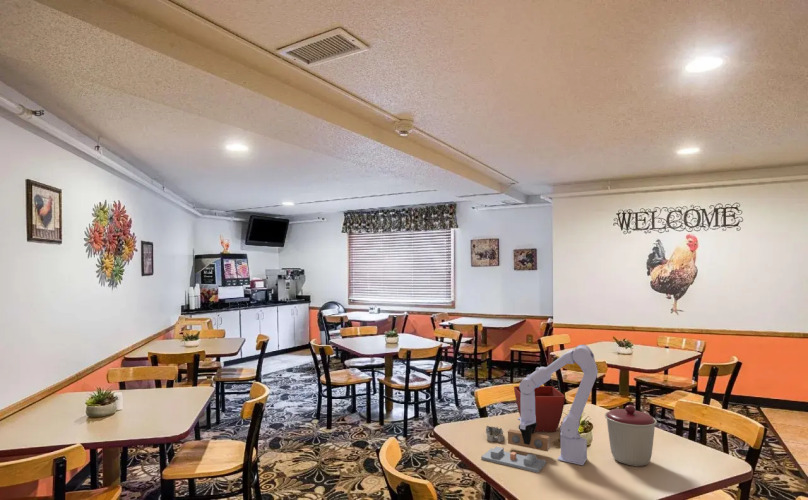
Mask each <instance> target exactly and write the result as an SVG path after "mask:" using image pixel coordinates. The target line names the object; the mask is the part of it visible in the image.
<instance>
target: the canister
mask: <svg viewBox="0 0 808 500" xmlns="http://www.w3.org/2000/svg"><path fill="white" fill-rule="evenodd" d="M604 417H605V419H606V424H607V431H608V439H609V446H610V453H611V454H612V457H613V459H615V460H616V461H617V462H618V463H621V464H624V465H628V466H632V467H643V466H644V467H645V466H646V465H648V464H649V463H650V462H651V459H652V454H653V447H654V446H653V445H654V437H655V428H656V427H655V426H656V425H657V424H658V421H657V419H656V418H655V417H653V416H652V415H650V414H648V413H646V412H645V411H640V410H636V408H635V406H634V405H631V404H628V405H626V406H625V408H617V409H612V410H609V411H608V412H606V413H604Z"/></svg>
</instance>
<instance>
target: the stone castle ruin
mask: <svg viewBox="0 0 808 500" xmlns="http://www.w3.org/2000/svg"><path fill="white" fill-rule="evenodd" d="M485 428H486V429H485V434H486V440H487V441H489V442H493V443H494V442H498V443H501V442H504V430H503V429H502V428H501V427H500V428H499V427H498V426H497V427H496V426H492V425H491V426H489V425H486V427H485ZM491 433H492V434H491ZM497 433H498V434H497Z"/></svg>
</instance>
